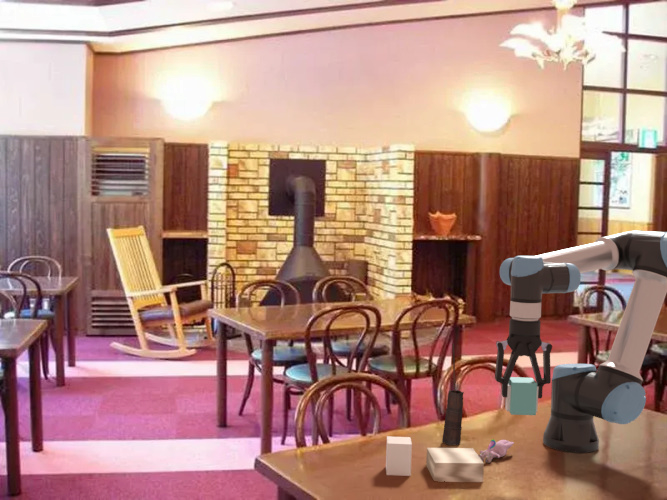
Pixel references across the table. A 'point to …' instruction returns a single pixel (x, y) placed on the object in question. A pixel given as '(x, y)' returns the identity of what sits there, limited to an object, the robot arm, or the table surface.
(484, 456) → the pink animal figurine
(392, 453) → the off-white block
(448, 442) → the butter churn
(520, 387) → the teal block
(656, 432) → the table surface
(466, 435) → the table surface
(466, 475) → the birch base
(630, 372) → the robot arm
